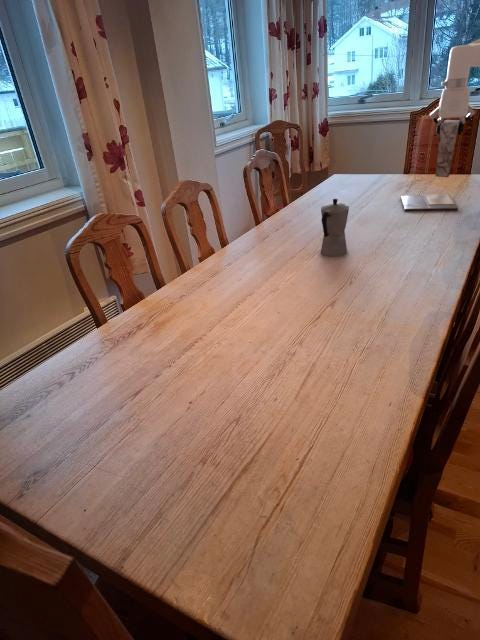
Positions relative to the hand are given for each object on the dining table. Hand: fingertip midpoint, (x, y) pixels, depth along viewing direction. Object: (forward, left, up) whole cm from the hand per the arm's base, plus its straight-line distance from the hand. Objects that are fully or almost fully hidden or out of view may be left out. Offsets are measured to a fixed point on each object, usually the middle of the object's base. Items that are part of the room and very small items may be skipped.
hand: (448, 134), depth 170 cm
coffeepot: (+42, +58, -27) cm, 76 cm away
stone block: (0, 0, -15) cm, 15 cm away
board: (+5, +3, -27) cm, 27 cm away
